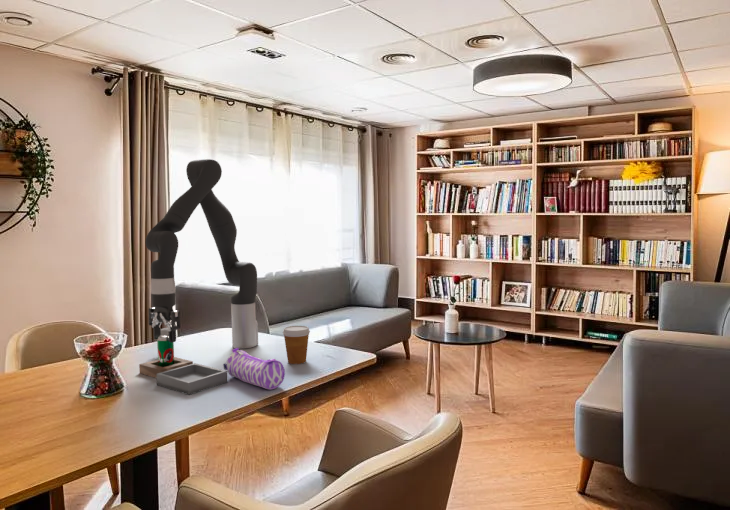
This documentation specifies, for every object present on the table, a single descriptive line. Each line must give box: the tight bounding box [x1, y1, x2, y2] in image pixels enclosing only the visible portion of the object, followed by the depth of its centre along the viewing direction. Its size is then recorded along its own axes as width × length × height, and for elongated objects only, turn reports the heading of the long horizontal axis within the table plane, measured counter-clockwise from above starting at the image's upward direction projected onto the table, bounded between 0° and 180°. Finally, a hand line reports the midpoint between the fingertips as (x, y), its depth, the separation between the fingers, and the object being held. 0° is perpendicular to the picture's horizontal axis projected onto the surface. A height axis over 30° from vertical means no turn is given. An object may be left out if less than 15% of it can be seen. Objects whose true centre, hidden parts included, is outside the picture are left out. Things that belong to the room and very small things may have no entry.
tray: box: [156, 362, 229, 396], centre depth 165 cm, size 14×16×4 cm
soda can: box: [156, 335, 175, 367], centre depth 177 cm, size 5×5×12 cm
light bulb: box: [161, 327, 169, 335], centre depth 200 cm, size 6×6×10 cm
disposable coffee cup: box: [282, 325, 311, 365], centre depth 187 cm, size 10×10×12 cm
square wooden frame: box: [138, 356, 194, 379], centre depth 178 cm, size 12×12×3 cm
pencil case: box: [222, 348, 286, 390], centre depth 165 cm, size 22×9×10 cm, turn 46°
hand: (164, 340), depth 177 cm, fingers open, 8 cm apart
